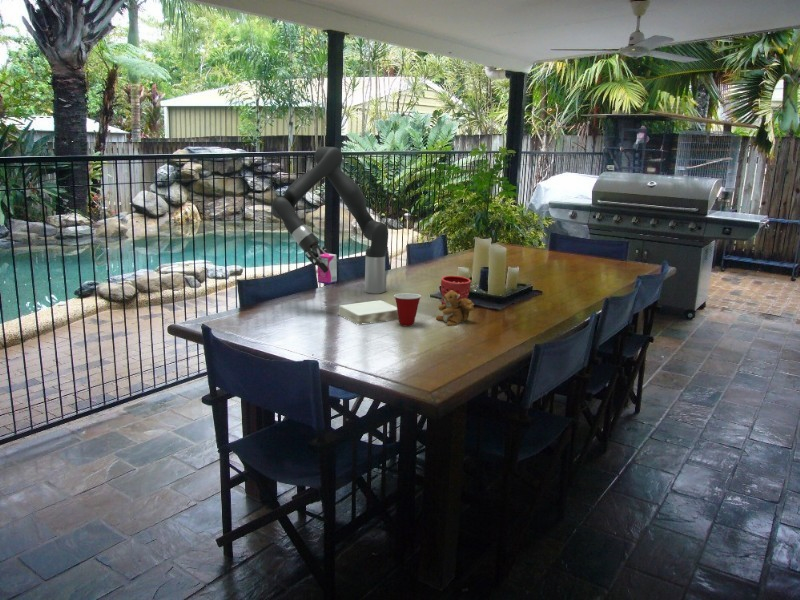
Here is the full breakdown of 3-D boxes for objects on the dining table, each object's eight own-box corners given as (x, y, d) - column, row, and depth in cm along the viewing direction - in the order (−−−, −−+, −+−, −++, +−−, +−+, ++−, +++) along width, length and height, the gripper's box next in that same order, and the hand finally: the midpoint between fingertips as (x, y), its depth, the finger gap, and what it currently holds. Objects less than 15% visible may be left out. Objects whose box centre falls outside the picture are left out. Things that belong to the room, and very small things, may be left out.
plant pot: (436, 306, 288) (438, 280, 285) (443, 299, 300) (445, 274, 297) (465, 310, 285) (467, 283, 282) (471, 303, 297) (473, 277, 294)
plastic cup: (413, 319, 268) (415, 290, 265) (424, 326, 258) (425, 297, 255) (388, 321, 264) (389, 292, 261) (398, 328, 254) (399, 298, 251)
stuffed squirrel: (433, 319, 268) (435, 288, 265) (464, 317, 273) (466, 286, 270) (444, 326, 259) (445, 294, 256) (475, 324, 264) (478, 292, 261)
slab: (380, 309, 281) (380, 300, 280) (400, 318, 268) (401, 309, 267) (338, 314, 270) (339, 305, 269) (358, 325, 257) (358, 315, 256)
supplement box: (325, 279, 273) (325, 252, 270) (337, 282, 270) (337, 254, 267) (317, 282, 268) (317, 254, 265) (328, 284, 265) (328, 256, 262)
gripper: (302, 235, 260) (328, 267, 259) (319, 230, 273) (344, 261, 272) (290, 246, 263) (316, 279, 262) (308, 241, 276) (333, 272, 275)
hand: (330, 269), depth 267 cm, fingers closed on supplement box, 6 cm apart
